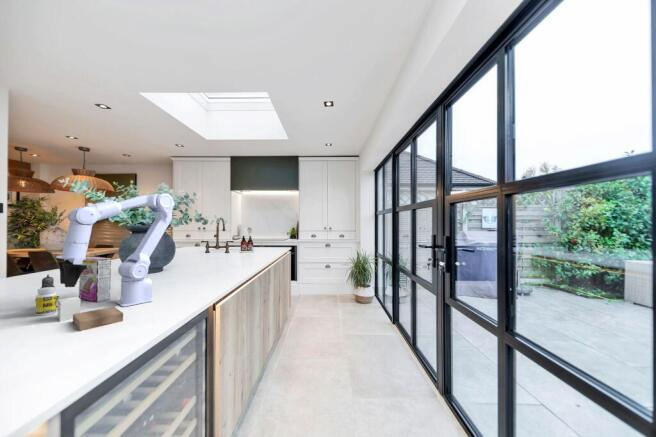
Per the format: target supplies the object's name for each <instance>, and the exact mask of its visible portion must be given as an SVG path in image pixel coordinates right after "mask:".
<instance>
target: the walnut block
mask: <svg viewBox="0 0 656 437" xmlns="http://www.w3.org/2000/svg"><path fill="white" fill-rule="evenodd" d="M121 322H124V312H122V311H121V310H120V309H118V308H117V307H116V306H108V307H104V308H99V309H93V310H88V311H84V312H80V313H77V314H73V319H72V324H73V325H74V326H75V327H76V328H77V329H78V331H79V332H83V330H84V331H87V330H92V329H96V328H100V327H105V326H108V325H113V324H116V323H121Z"/></svg>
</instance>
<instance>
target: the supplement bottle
mask: <svg viewBox="0 0 656 437" xmlns="http://www.w3.org/2000/svg"><path fill="white" fill-rule="evenodd" d="M40 288H41V287H40ZM40 288H39V289H38V290H37V295H36V296H35V299H36V301H35V307H34V308H35V312H34V314H35V316H38V317H39V316H42V317H43V316H48V315H52V314H54V313H56V312H57V308H56V306H57V302H56V296H58V295H57V293H56V286H55V287H46V288H41V289H40Z"/></svg>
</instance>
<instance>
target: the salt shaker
mask: <svg viewBox="0 0 656 437" xmlns="http://www.w3.org/2000/svg"><path fill="white" fill-rule="evenodd" d="M54 281H55V280H54V277H53V276H50V274H47V275H46V277H43V278H42V279H41V287H40V288H39V289H41V288H46V287H55V288H56V286H54ZM59 298H60V296H59V295H57V296H56V303H58V300H59ZM34 301H35V302H36V298H35V299H34ZM56 309H58V305H56Z"/></svg>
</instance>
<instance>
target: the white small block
mask: <svg viewBox="0 0 656 437" xmlns="http://www.w3.org/2000/svg"><path fill="white" fill-rule="evenodd" d="M81 300H82V299H80V298H79V296H73V297H67V298H66V297H65V298H60V299H59V298H58V300H57V306H58V307H57V319H59V320H58V321H59V322H61V321H62V322H66V320H67V321H70V319H72V320H73V314H77V313H81V306H82V305H81V304H82V303H81ZM62 322H61V323H62Z"/></svg>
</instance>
